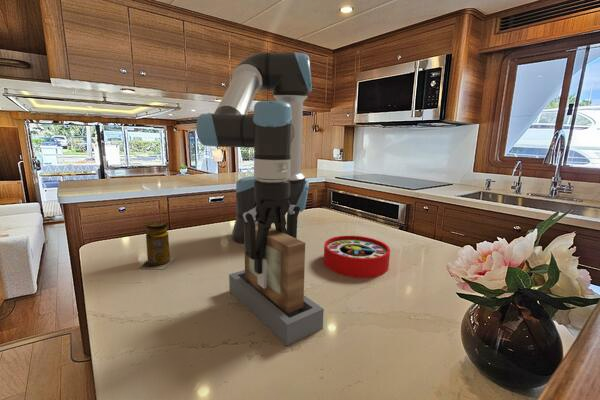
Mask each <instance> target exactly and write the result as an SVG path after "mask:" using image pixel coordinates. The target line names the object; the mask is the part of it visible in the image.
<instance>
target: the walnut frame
mask: <svg viewBox="0 0 600 400" xmlns="http://www.w3.org/2000/svg"><path fill="white" fill-rule="evenodd" d="M255 231H256V236H257V231H258V222H255ZM243 244H244V245H243V246H244V248H243V249H245V227H244V243H243ZM264 258H265V259H267V288H265V289H264V288H262V287H261V286H260V285H258V275H257V273H256V272H255V270H254V260H252V259H251V258H249V257H248V256H246V253H245V252H244V270H245V279H246V280H247V281H248V282H249V283H251V284H252V285H253V286H254V287H256V288H257V289H258V290H259V291H261V292H262V293H263V294H264V295H265V296H267V297H268V298H269V299H270V300H272V301H273V302H274V303H275V304H276V305H278V306H279V307H280V308H281V309H283V310H284V311H285V312H286V313H290V312H292V311H295V310H297V309H300V308H302V307H303V302H304V296H305V294H304V293H305V292H304V291H305V264H306V263H305V261H306V242H304V241H302V240H300V239H299V238H297V239H296V238H294V237H292V236H290V235H287V234H285V233H283V232H280V231H278V230H276V228H275V227H272V226H271V228H270V229H269V232H268V236H267V243H266V248H265V253H264Z"/></svg>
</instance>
